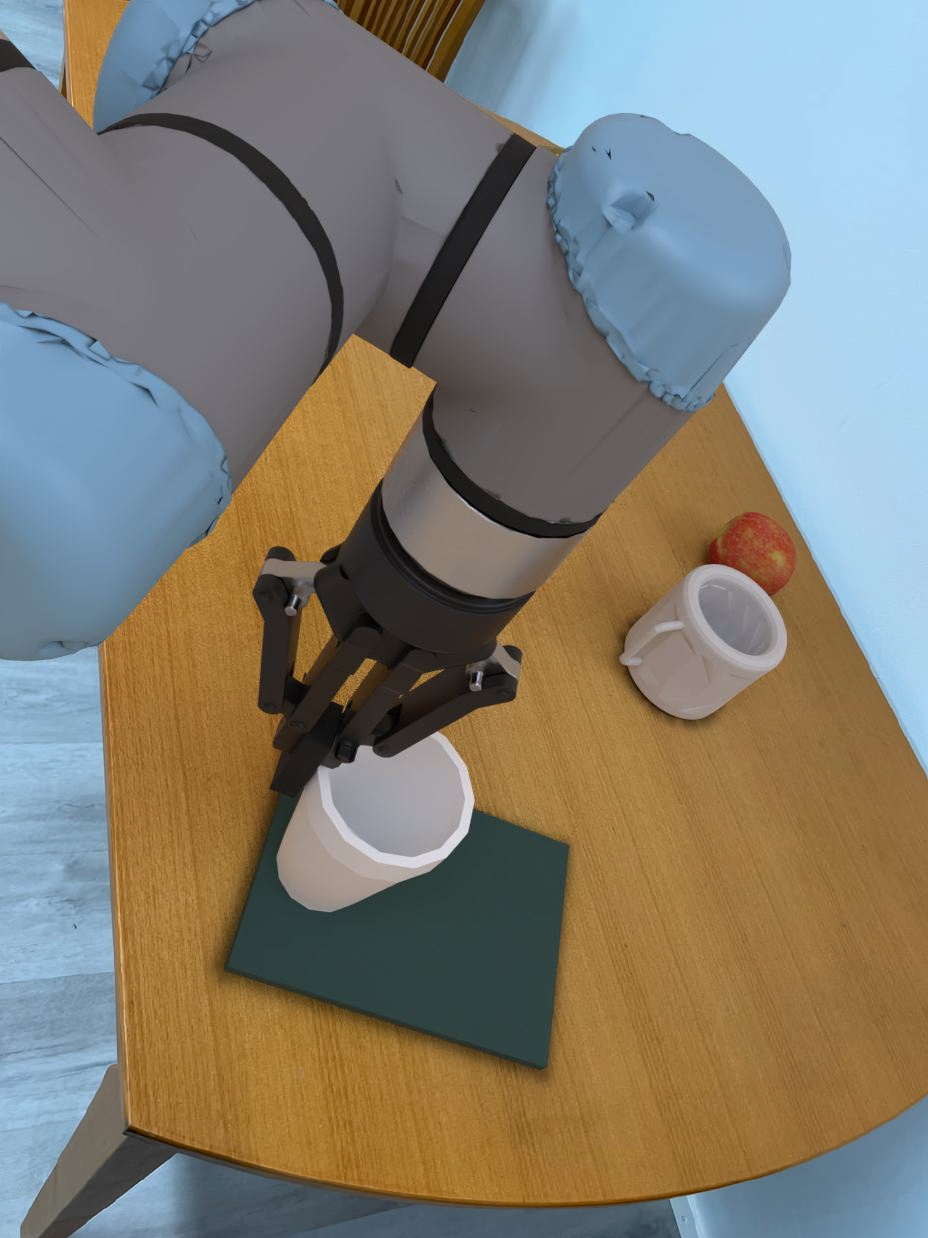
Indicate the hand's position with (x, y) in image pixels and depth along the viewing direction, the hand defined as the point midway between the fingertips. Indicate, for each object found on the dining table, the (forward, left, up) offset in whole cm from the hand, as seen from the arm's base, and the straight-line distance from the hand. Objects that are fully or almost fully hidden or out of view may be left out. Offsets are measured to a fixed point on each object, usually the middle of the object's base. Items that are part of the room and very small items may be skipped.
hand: (288, 773), depth 55 cm
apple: (+40, +45, -11) cm, 61 cm away
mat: (+13, 0, -11) cm, 17 cm away
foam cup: (+6, 0, -10) cm, 12 cm away
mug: (+32, +29, -11) cm, 44 cm away
